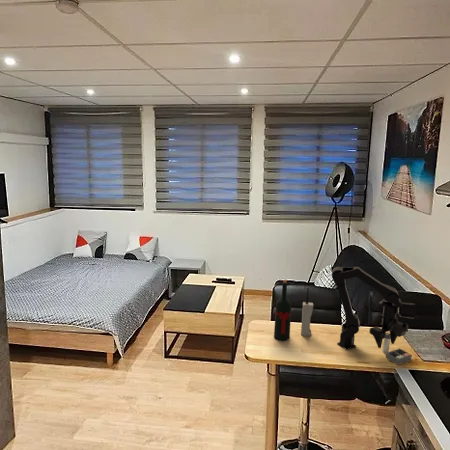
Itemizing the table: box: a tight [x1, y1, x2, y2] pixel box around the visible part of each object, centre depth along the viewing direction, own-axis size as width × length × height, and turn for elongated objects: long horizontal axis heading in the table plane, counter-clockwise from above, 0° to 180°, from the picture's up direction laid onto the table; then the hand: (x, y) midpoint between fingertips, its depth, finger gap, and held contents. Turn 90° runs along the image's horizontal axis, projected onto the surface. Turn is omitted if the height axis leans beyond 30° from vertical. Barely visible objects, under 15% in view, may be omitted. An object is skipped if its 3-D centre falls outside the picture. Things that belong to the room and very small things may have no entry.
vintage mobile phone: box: [300, 287, 314, 337], centre depth 196 cm, size 4×5×25 cm
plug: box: [381, 332, 391, 354], centre depth 181 cm, size 3×3×9 cm
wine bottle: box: [273, 279, 292, 342], centre depth 190 cm, size 8×10×30 cm
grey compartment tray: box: [385, 348, 413, 366], centre depth 176 cm, size 9×6×3 cm
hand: (385, 345), depth 182 cm, fingers open, 9 cm apart
